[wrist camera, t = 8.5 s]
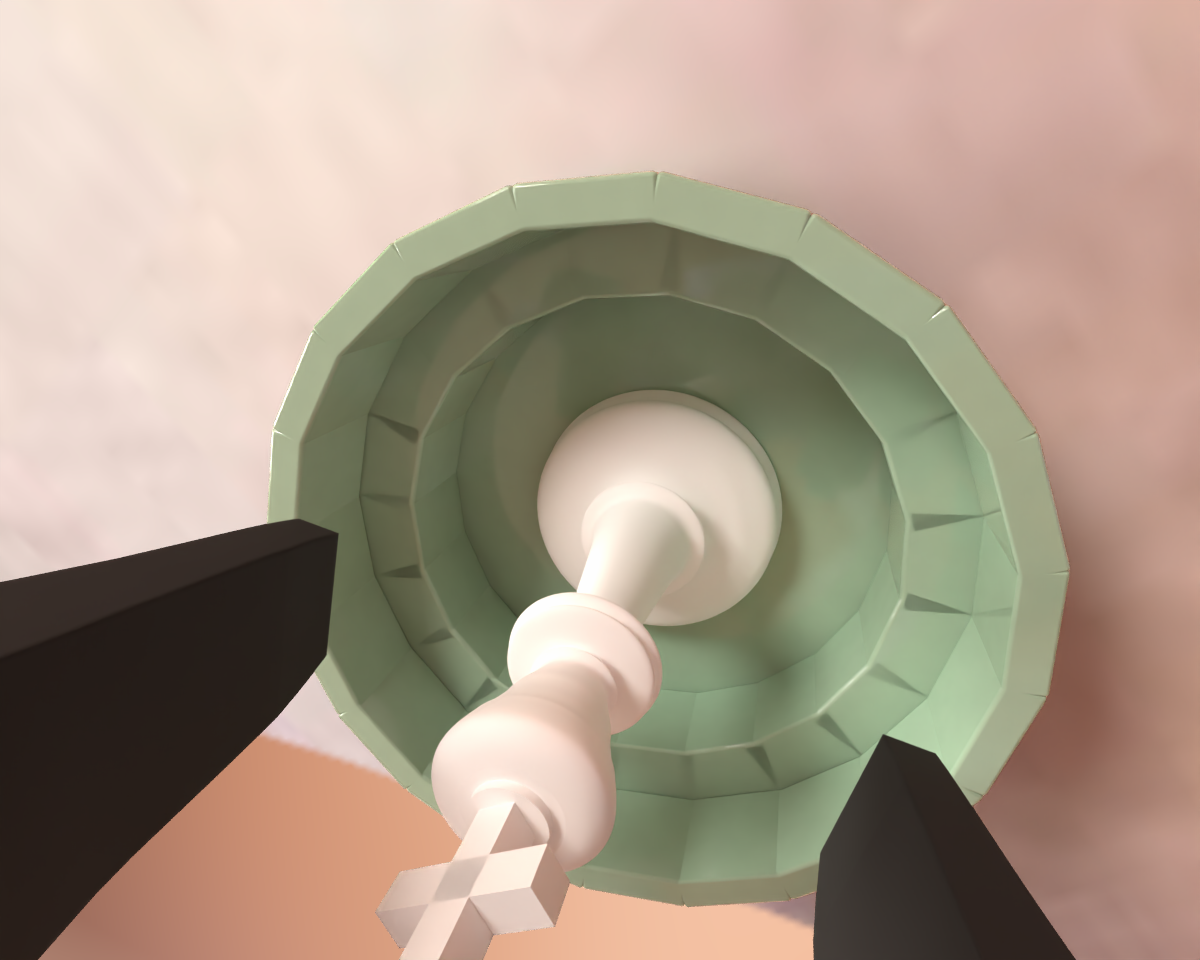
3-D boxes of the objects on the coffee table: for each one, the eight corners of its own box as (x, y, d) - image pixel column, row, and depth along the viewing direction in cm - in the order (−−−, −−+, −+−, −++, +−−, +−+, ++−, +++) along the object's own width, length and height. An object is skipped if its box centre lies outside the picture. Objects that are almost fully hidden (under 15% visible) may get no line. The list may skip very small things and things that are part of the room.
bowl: (1114, 290, 12) (1282, 333, 8) (841, 810, 17) (855, 1004, 13) (443, 114, 14) (288, 72, 9) (373, 630, 18) (252, 750, 14)
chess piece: (821, 573, 14) (859, 1213, 5) (607, 638, 16) (356, 1195, 7) (719, 346, 13) (542, 646, 4) (503, 445, 15) (53, 802, 6)
